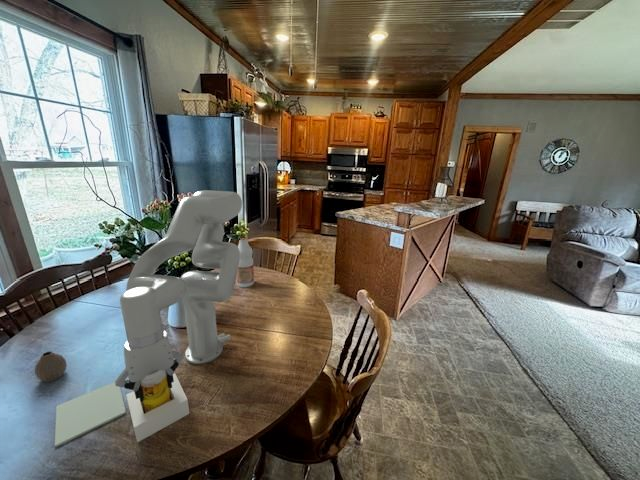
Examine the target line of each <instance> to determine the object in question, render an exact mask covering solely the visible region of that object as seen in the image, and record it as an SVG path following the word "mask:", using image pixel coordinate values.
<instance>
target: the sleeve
mask: <svg viewBox="0 0 640 480" xmlns="http://www.w3.org/2000/svg"><path fill="white" fill-rule="evenodd" d="M173 380H174V382H172V388H169V393H170V399H171V401H169V402H167V403H165V404H163V405H161V406H159V407H157V408H155V409H153V410H151V411H149V412H147V413H144V410H145V408H144V402H140V399H139V398H138V399H136V396H135V392H134V391H133V390H132V392H128V393H126V395H125V396H126V400H127V406H128V409H129V414H130V417H131V421H132V426H133V429H134V434H135V439H136V442H137V443H139V442H141V441H143V440H144V439H146V438H148V437H151V436H152V435H154V434H155V433H157V432H159V431H160V430H163V429H164V428H166V427H168V426H169V425H172V424H173V423H175V422H177V421H179V420H180V419H182V418H185V417H186V416H188V415H189V414H190V409H189V407H190V406H189V400H188V397H187V396H186V394H185V391H184V390H183V386H182V385H181V382H180V381H179V379H178V376H177V375H176V373H175V372H174V374H173Z"/></svg>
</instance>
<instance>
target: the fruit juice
mask: <svg viewBox="0 0 640 480" xmlns="http://www.w3.org/2000/svg"><path fill="white" fill-rule="evenodd" d="M238 240H239V239H238ZM248 241H249V236H248V235H246V237H245V238H244V239H242V240H239V241H238V245H237V247H238V248H239V251H240V261H239V267H238V271H237V276H236V286H237V287H239V288H249V287H252V286H253V285H254V283H255V276H254V274H255V271H254V258H253V253H254V251H253V249H252V247H251V246H250V244H249V242H248Z"/></svg>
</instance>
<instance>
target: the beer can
mask: <svg viewBox="0 0 640 480" xmlns="http://www.w3.org/2000/svg"><path fill="white" fill-rule="evenodd" d="M140 387H141V389H142V394H143V399H144V401H143V402H144V412H145V413H147V412H149V411H151V410H153V409H155V408H157V407H159V406H161V405H163V404H165V403H167V402H169V401H171V400H172V399H171V397H170V393H169V387H168V381H167V374H166V371H165V370H163V371H162V370H158V371H157V372H154V373H152V374H150V375H146V377H145V378H144V379H143V380H141V383H140ZM145 413H144V414H145Z"/></svg>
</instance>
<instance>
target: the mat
mask: <svg viewBox="0 0 640 480" xmlns="http://www.w3.org/2000/svg"><path fill="white" fill-rule="evenodd" d="M124 403H125V402H124V398H123V393H122V388H121V387H118V386H116V385H115V381H114V382H110V383H109V384H106V385H104V386H101V387H98V388H96V389H94V390H92V391H89V392H87V393H85V394H82V395H79V396H77V397H75V398H72V399H70V400H68V401H65V402H63V403H61V404H58V405H56V406H55V408H56V409H55V428H54V429H55V432H54V433H55V434H54V448H57V447H59V446H62V445H64V444H65V443H67V442H70V441H72V440H73V439H77V438H78V437H80V436H82V435H84V434H86V433H88V432H90V431H92V430H95V429H96V428H99V427H101V426H102V425H105V424H107V423H109V422H112V421H114V420H115V419H118V418H119V417H122V416H123V415H125V414H126V408H125V404H124Z"/></svg>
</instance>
